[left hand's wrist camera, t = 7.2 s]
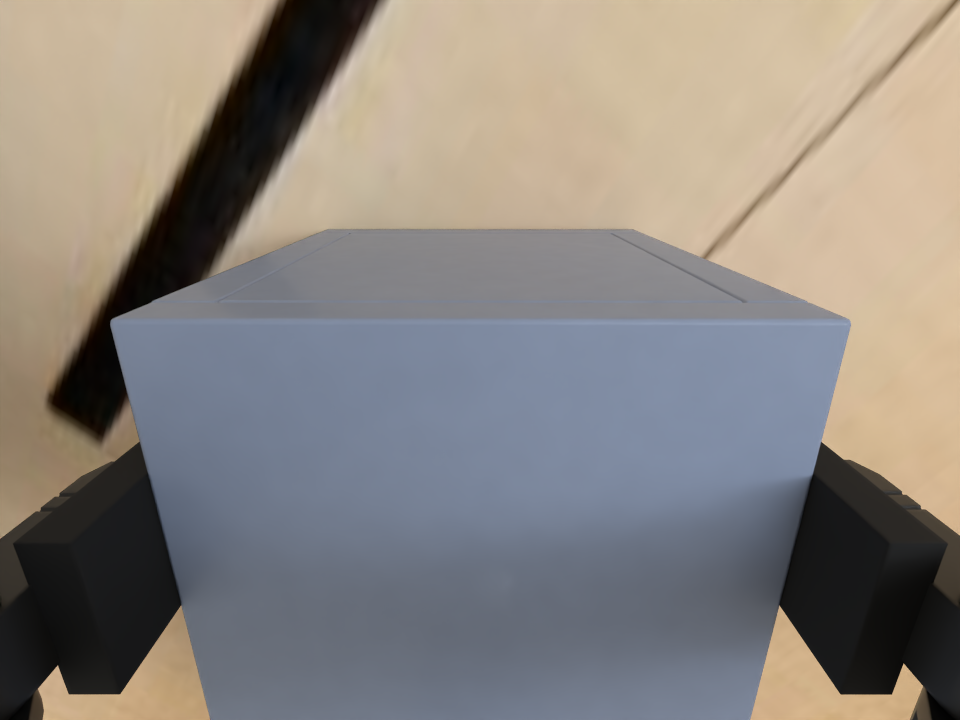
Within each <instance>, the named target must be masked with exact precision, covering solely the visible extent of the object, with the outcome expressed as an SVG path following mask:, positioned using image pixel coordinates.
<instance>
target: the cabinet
mask: <svg viewBox="0 0 960 720" xmlns="http://www.w3.org/2000/svg"><path fill="white" fill-rule="evenodd" d="M110 326H111V330H112V334H113V338H114V342H115V346H116V349H117V353H118V357H119V361H120V365H121V369H122V373H123V377H124V381H125V385H126V389H127V393H128V397H129V401H130V405H131V409H132V412H133V416H134V420H135V424H136V428H137V432H138V436H139V440H140V444H141V448H142V452H143V456H144V460H145V464H146V468H147V472H148V475H149V479H150V483H151V487H152V491H153V495H154V499H155V503H156V507H157V511H158V515H159V519H160V523H161V527H162V531H163V535H164V538H165V542H166V546H167V550H168V554H169V558H170V562H171V566H172V570H173V574H174V578H175V582H176V586H177V590H178V594H179V598H180V601H181V605H182V609H183V613H184V617H185V621H186V625H187V629H188V633H189V637H190V641H191V645H192V649H193V653H194V657H195V661H196V664H197V668H198V672H199V676H200V680H201V684H202V688H203V692H204V696H205V700H206V704H207V708H208V712H209V716H210V720H750V718H751V714H752V710H753V706H754V703H755V699H756V695H757V691H758V687H759V683H760V679H761V675H762V671H763V667H764V663H765V659H766V656H767V652H768V648H769V644H770V640H771V636H772V632H773V628H774V624H775V620H776V616H777V612H778V609H779V605H780V601H781V597H782V593H783V589H784V585H785V581H786V577H787V573H788V569H789V565H790V562H791V558H792V554H793V550H794V546H795V542H796V538H797V534H798V530H799V526H800V522H801V518H802V515H803V511H804V507H805V503H806V499H807V495H808V491H809V487H810V483H811V479H812V475H813V471H814V468H815V464H816V460H817V456H818V452H819V448H820V444H821V440H822V436H823V432H824V428H825V425H826V421H827V417H828V413H829V409H830V405H831V401H832V397H833V393H834V389H835V385H836V381H837V378H838V374H839V370H840V366H841V362H842V358H843V354H844V350H845V346H846V342H847V338H848V334H849V331H850V327H851V323H850V320H849V319H847V318H845V317H842V316H840V315H837V314H835V313H833V312H830V311H828V310H825V309H823V308H820V307H818V306H816V305H813V304H811V303H808V302H807V301H805V300H802V299H800V298H797V297H795V296H793V295H790V294H788V293H785V292H783V291H781V290H778V289H776V288H773V287H771V286H768V285H766V284H764V283H761V282H759V281H756V280H754V279H751V278H749V277H747V276H744V275H742V274H739V273H737V272H735V271H732V270H730V269H727V268H725V267H722V266H720V265H718V264H715V263H713V262H710V261H708V260H705V259H703V258H701V257H698V256H696V255H693V254H691V253H689V252H686V251H684V250H681V249H679V248H676V247H674V246H672V245H669V244H667V243H664V242H662V241H659V240H657V239H655V238H652V237H650V236H647V235H645V234H643V233H640V232H638V231H635V230H431V229H328V230H325V231H323V232H320V233H317V234H315V235H312V236H310V237H307V238H305V239H303V240H300V241H298V242H295V243H293V244H290V245H288V246H286V247H283V248H281V249H278V250H276V251H273V252H271V253H268V254H266V255H264V256H261V257H259V258H256V259H254V260H251V261H249V262H247V263H244V264H242V265H239V266H237V267H234V268H232V269H229V270H227V271H225V272H222V273H220V274H217V275H215V276H212V277H210V278H208V279H205V280H203V281H200V282H198V283H195V284H193V285H191V286H188V287H186V288H183V289H181V290H178V291H176V292H173V293H171V294H169V295H166V296H164V297H161V298H159V299H156V300H154V301H152V303H150V304H147V305H145V306H142V307H140V308H137V309H135V310H133V311H130V312H128V313H125V314H123V315H121V316H118V317H116V318H114V319H112V320H111V323H110Z"/></svg>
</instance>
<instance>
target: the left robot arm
mask: <svg viewBox="0 0 960 720" xmlns="http://www.w3.org/2000/svg"><path fill="white" fill-rule="evenodd" d="M180 606H181V601H180V598H179V594H178V590H177V586H176V582H175V578H174V574H173V570H172V566H171V562H170V558H169V554H168V550H167V546H166V542H165V538H164V535H163V531H162V527H161V523H160V519H159V515H158V511H157V507H156V503H155V499H154V495H153V491H152V487H151V483H150V479H149V475H148V472H147V468H146V464H145V460H144V456H143V452H142V448H141V444H140V442H139V443H137V444H136V445H135V446H134V447H132V448H131V449H130V450H129V451H127V452H126V453H125V454H124V455H122V456H121V457H120V458H119V459H117V460H116V461H115V462H110V463H108V464H105V465H103V466H101V467H99V468H97V469H95V470H93V471H91V472H89V473H87V474H85V475H83V476H81V477H80V478H79V479H78V480H76V481H75V482H74V483H72V484H71V485H70V486H68V487H67V488H66V489H65V490H63V491H62V492H61V493H60V495H59V497H54V498H53V499H52V500H50V501H49V502H48V503H46V504H45V505H44V506H43V507H41V511H40V512H35V513H33V514H32V515H31V516H30V517H28V518H27V519H26V520H24V521H23V522H22V523H21V524H19V525H18V526H17V527H15V528H14V529H13V530H11V531H10V532H9V533H8V534H6V535H5V536H4V537H2V538H1V539H0V720H42V719H43V713H44V709H43V703H42V698H41V696H40V693H39V691H38V688H39V687H40V685H41V684H42V683H43V682H44V681H45V680H46V678H47V677H48V676H49V675H50V674H51V672H52V671H53V670H54V669H55V668H56V667H57V665H58V666H59V669H60V672H61V674H62V677H63V680H64V683H65V685H66V688H67V691H68V693H69V694H121V692H122V691H123V689H124V688H125V686H126V685H127V683H128V682H129V680H130V679H131V677H132V676H133V675H134V673H135V672H136V670H137V669H138V667H139V666H140V664H141V663H142V661H143V660H144V659H145V657H146V656H147V654H148V653H149V651H150V650H151V648H152V647H153V645H154V644H155V642H156V641H157V640H158V638H159V637H160V635H161V634H162V632H163V631H164V629H165V628H166V626H167V625H168V623H169V622H170V621H171V619H172V618H173V616H174V615H175V613H176V612H177V610H178V609H179V607H180ZM780 607H781V608H782V609H783V611H784V612H785V614H786V615H787V617H788V618H789V620H790V621H791V623H792V624H793V626H794V627H795V628H796V630H797V631H798V633H799V634H800V636H801V637H802V639H803V640H804V642H805V643H806V645H807V646H808V647H809V649H810V650H811V652H812V653H813V655H814V656H815V658H816V659H817V661H818V662H819V663H820V665H821V666H822V668H823V669H824V671H825V672H826V674H827V675H828V677H829V678H830V680H831V681H832V682H833V684H834V685H835V687H836V688H837V690H838V691H839V693H840V694H892V693H893V690H894V687H895V685H896V682H897V679H898V677H899V674H900V671H901V669H902V666H903V663H904V664H905V665H906V666H907V668H908V669H909V670H910V671H911V672H912V673H913V675H914V676H915V677H916V678H917V679H918V680H919V682H920V683H921V684H922V685H923V688H922V691H921V693H920V696H919V698H918V701H917V703H916V706H915V708H914V711H913V713H912V716H911V718H910V720H960V536H959V535H958V534H957V533H955V532H954V531H953V530H952V529H950V528H949V527H948V526H946V525H945V524H944V523H942V522H941V521H940V520H938V519H937V518H936V517H935V516H933V515H932V514H931V513H929V512H928V511H927V510H922V509H921V506H920V505H919V504H918V503H916V502H915V501H914V500H912V499H911V498H910V497H908V496H907V495H902V491H901V490H899V489H898V488H897V487H895V486H894V485H893V484H891V483H890V482H889V481H888V480H886V479H885V478H884V477H882V476H881V475H880V474H878V473H876V472H874V471H872V470H870V469H867V468H865V467H863V466H861V465H859V464H857V463H855V462H853V461H851V460H843V459H842V458H841V457H839V456H838V455H837V454H836V453H834V452H833V451H832V450H831V449H829V448H828V447H827V446H826V445H824V444H823V443H822V442H821V444H820V448H819V452H818V456H817V460H816V464H815V468H814V471H813V475H812V479H811V483H810V487H809V491H808V495H807V499H806V503H805V507H804V511H803V515H802V518H801V522H800V526H799V530H798V534H797V538H796V542H795V546H794V550H793V554H792V558H791V562H790V565H789V569H788V573H787V577H786V581H785V585H784V589H783V593H782V597H781V601H780Z"/></svg>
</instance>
